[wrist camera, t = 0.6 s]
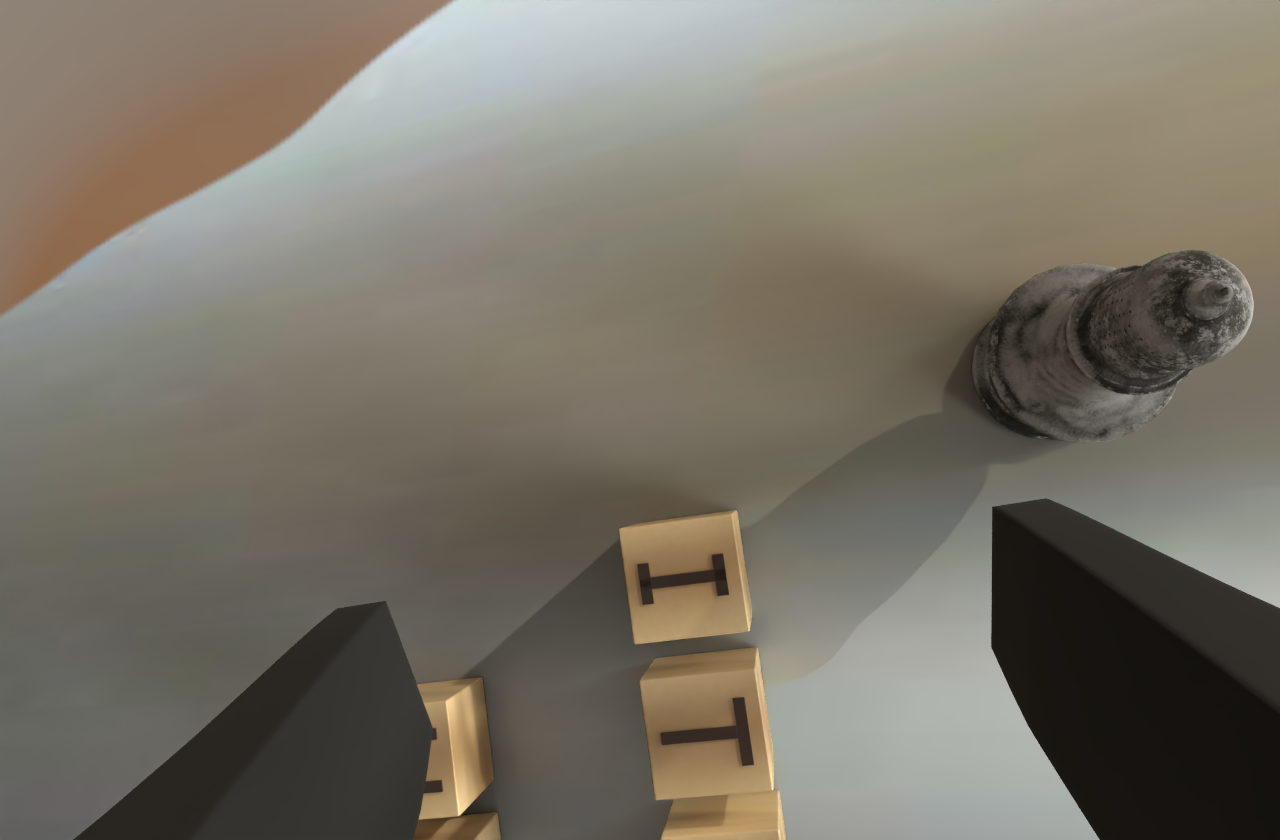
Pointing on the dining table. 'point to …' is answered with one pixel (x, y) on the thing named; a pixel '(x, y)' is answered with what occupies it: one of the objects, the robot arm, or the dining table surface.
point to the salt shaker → (1107, 343)
